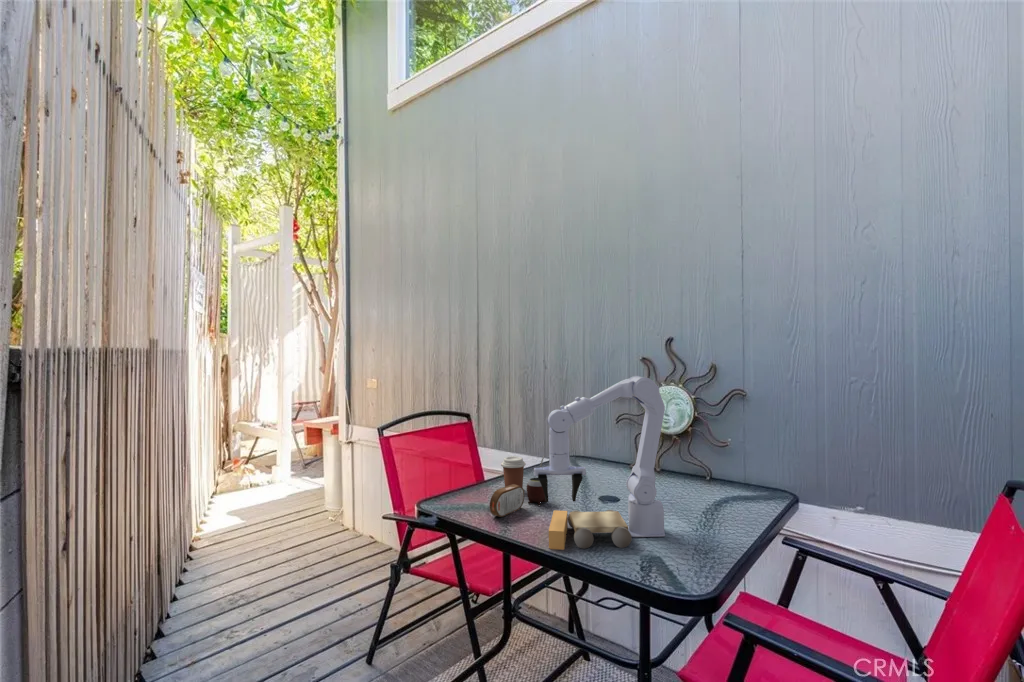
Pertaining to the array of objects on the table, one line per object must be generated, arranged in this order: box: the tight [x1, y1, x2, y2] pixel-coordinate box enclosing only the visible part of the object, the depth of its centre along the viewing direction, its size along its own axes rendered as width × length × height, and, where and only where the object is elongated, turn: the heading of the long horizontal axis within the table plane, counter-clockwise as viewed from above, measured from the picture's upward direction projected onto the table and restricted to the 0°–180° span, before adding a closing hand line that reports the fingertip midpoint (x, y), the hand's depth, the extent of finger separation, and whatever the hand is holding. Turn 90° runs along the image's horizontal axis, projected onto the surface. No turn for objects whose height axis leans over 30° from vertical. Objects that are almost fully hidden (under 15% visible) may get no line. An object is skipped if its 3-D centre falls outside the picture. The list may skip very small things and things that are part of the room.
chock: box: [548, 509, 569, 551], centre depth 136 cm, size 4×16×5 cm, turn 170°
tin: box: [489, 484, 525, 518], centre depth 156 cm, size 15×3×8 cm, turn 141°
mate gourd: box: [526, 455, 547, 506], centre depth 166 cm, size 8×8×15 cm
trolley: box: [567, 509, 633, 550], centre depth 135 cm, size 15×15×5 cm
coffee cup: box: [500, 455, 527, 489], centre depth 180 cm, size 9×9×12 cm
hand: (560, 500), depth 138 cm, fingers open, 7 cm apart
